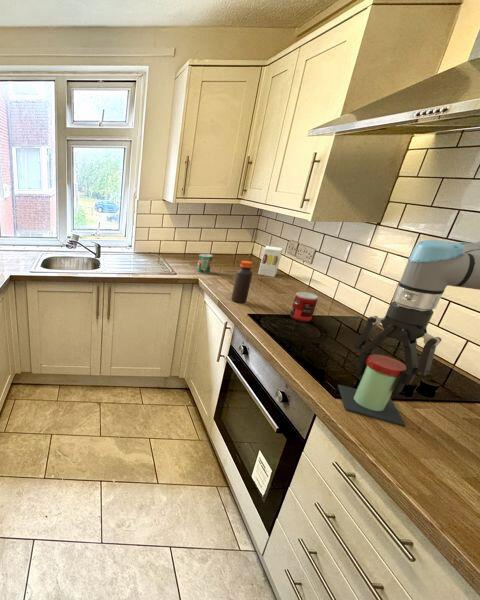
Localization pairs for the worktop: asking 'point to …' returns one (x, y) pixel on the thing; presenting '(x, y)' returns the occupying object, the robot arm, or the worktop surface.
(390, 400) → the coaster
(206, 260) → the canned tomato
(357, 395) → the jar
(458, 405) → the worktop surface
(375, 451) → the worktop surface
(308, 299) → the canned food
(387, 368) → the lid
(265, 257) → the supplement box
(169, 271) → the worktop surface
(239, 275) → the bottle
